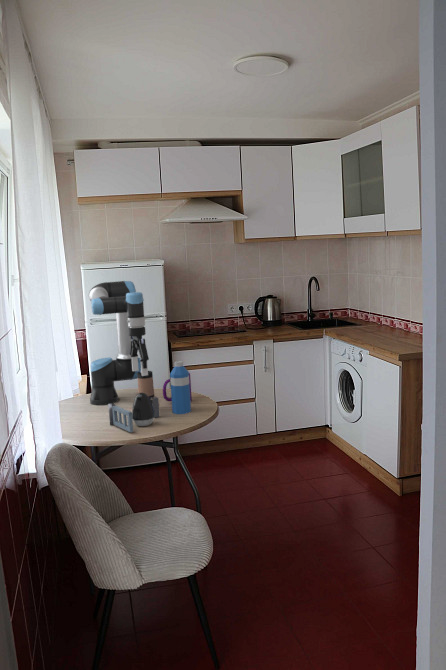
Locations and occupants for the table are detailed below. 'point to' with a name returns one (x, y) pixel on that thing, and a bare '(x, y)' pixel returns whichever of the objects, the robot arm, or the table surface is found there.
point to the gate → (124, 412)
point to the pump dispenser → (142, 410)
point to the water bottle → (180, 389)
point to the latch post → (155, 406)
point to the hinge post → (111, 413)
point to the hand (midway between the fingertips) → (140, 373)
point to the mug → (171, 397)
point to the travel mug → (146, 384)
